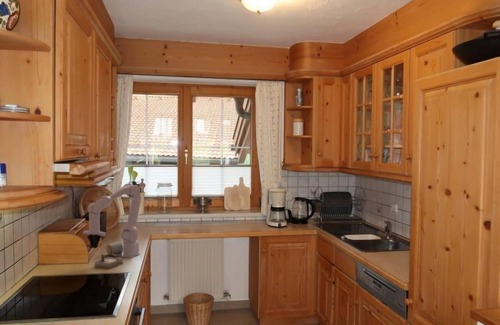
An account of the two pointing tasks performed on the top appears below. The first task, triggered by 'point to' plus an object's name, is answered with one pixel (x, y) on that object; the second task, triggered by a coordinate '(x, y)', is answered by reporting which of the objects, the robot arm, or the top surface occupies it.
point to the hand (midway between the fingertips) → (94, 247)
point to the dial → (106, 259)
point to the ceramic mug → (115, 249)
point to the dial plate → (108, 265)
